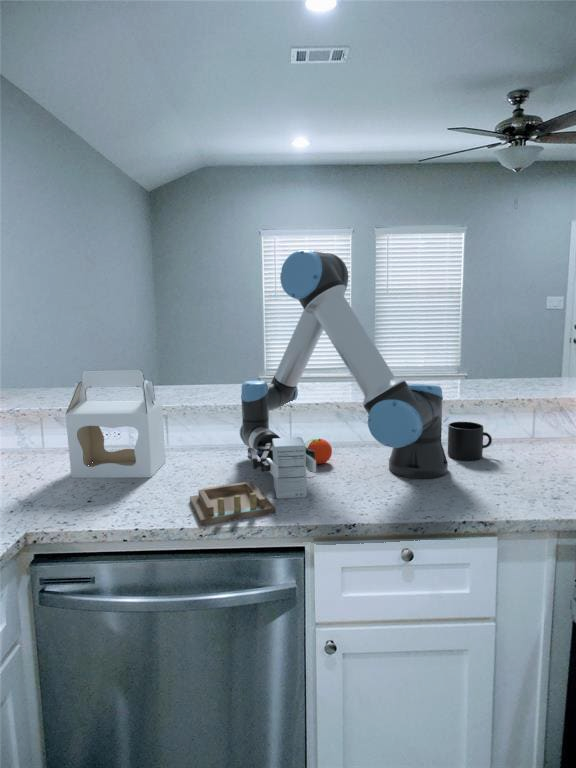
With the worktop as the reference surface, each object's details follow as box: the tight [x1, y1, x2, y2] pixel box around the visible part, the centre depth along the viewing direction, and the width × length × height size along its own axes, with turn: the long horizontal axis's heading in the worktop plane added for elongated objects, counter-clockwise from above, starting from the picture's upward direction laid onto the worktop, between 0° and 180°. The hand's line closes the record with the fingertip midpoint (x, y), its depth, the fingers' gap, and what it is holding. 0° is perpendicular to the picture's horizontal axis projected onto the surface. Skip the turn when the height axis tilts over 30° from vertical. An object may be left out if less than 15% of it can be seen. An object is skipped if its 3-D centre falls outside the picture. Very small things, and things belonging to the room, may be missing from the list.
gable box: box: [65, 369, 166, 479], centre depth 139 cm, size 22×13×28 cm, turn 87°
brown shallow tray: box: [189, 481, 276, 526], centre depth 113 cm, size 16×14×5 cm
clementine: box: [307, 438, 333, 465], centre depth 142 cm, size 8×7×7 cm
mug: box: [447, 421, 493, 462], centre depth 145 cm, size 9×12×9 cm
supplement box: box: [272, 436, 308, 500], centre depth 120 cm, size 7×7×13 cm
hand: (295, 469), depth 116 cm, fingers closed on supplement box, 8 cm apart
